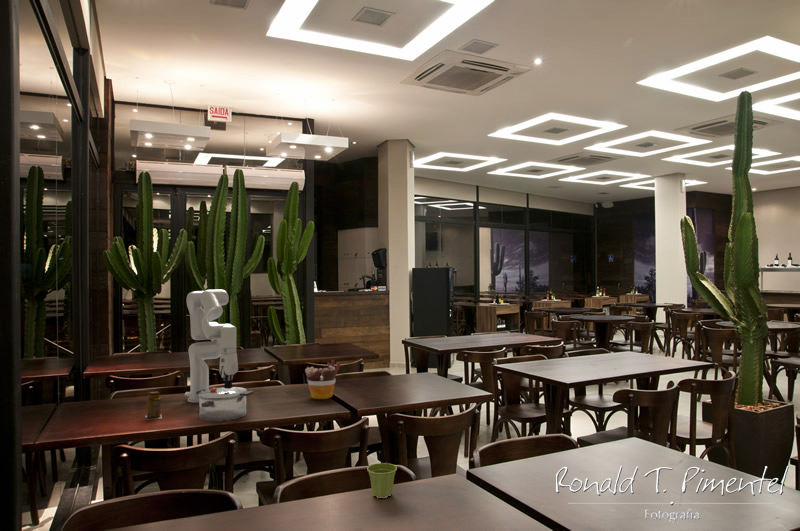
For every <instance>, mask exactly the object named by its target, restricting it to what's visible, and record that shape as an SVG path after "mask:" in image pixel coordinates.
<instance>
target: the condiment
mask: <svg viewBox="0 0 800 531" xmlns="http://www.w3.org/2000/svg"><path fill="white" fill-rule="evenodd" d="M160 396H161V393H160V391H149V392H148V393H147V399H146V401H147V402H146V409H147V410H146V415H144V416H145V420H148V421H149V420H158V419H159V420H160V419H163V416H162V413H161V410H162V409H161V403H162V400H161V399H162V398H161V397H160Z"/></svg>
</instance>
